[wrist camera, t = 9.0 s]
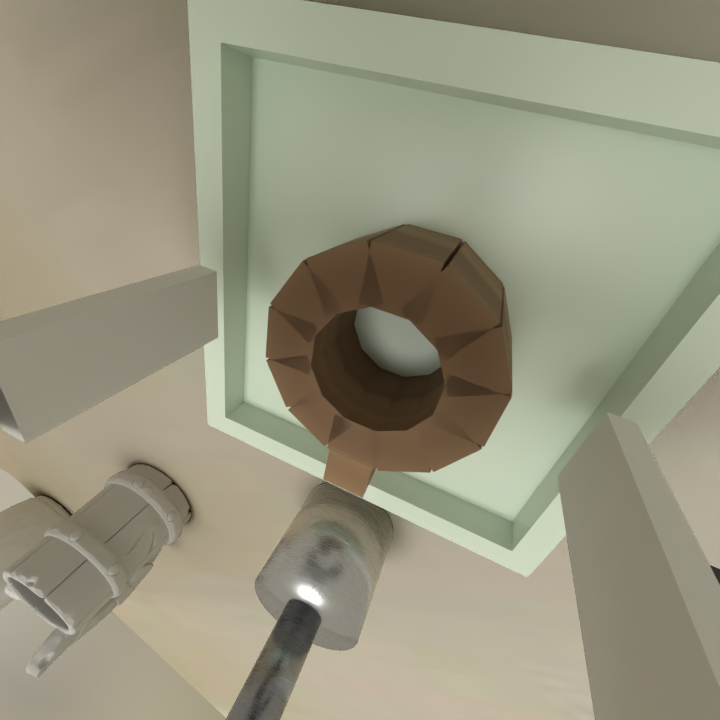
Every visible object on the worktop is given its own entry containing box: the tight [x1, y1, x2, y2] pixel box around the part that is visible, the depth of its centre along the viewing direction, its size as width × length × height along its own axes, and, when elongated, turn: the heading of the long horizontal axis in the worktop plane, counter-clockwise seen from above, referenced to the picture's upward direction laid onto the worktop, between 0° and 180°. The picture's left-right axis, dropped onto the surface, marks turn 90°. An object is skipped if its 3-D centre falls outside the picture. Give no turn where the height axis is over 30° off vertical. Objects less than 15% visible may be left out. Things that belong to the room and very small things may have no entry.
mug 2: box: [3, 464, 191, 678], centre depth 27 cm, size 8×12×12 cm, turn 170°
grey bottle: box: [226, 483, 393, 720], centre depth 18 cm, size 6×6×12 cm
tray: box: [187, 0, 720, 577], centre depth 14 cm, size 18×18×2 cm
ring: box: [266, 224, 512, 498], centre depth 13 cm, size 10×8×4 cm
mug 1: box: [0, 496, 71, 610], centre depth 40 cm, size 13×9×10 cm
